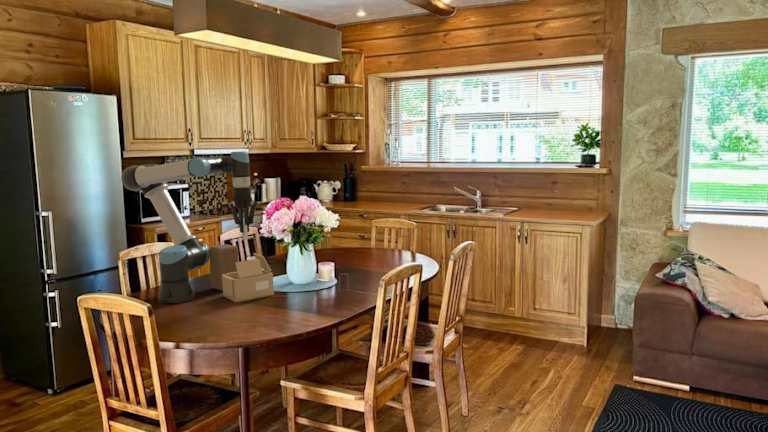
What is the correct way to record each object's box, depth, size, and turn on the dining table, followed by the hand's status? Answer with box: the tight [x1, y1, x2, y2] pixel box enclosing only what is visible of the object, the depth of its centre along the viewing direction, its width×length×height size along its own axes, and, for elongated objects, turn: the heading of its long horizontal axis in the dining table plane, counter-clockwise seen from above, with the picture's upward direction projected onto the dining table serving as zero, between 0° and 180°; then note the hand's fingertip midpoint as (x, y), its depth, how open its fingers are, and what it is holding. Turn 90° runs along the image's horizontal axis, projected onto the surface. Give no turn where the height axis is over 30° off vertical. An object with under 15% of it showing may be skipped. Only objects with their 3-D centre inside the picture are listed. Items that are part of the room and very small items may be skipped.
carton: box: [222, 269, 275, 303], centre depth 261 cm, size 19×15×10 cm
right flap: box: [253, 252, 272, 273], centre depth 264 cm, size 8×10×1 cm
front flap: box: [235, 259, 263, 278], centre depth 254 cm, size 11×7×1 cm
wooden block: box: [209, 243, 239, 292], centre depth 274 cm, size 10×10×20 cm
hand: (245, 239), depth 259 cm, fingers closed
